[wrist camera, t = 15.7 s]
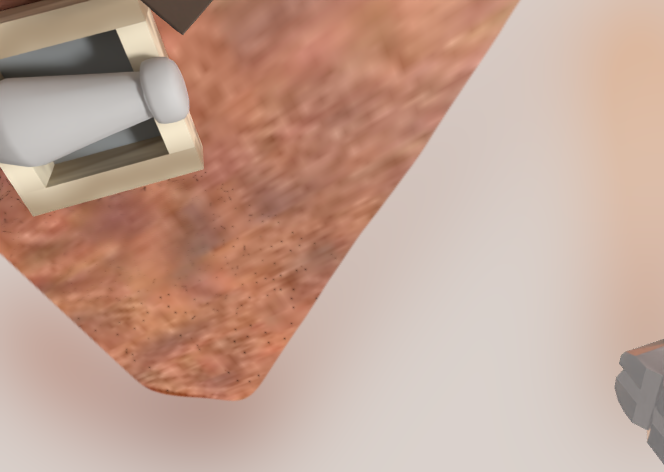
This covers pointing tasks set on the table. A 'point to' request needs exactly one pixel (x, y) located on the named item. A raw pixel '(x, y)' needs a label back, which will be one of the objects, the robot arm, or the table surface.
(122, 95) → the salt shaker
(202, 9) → the coffee box
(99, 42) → the socket block
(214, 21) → the table surface
